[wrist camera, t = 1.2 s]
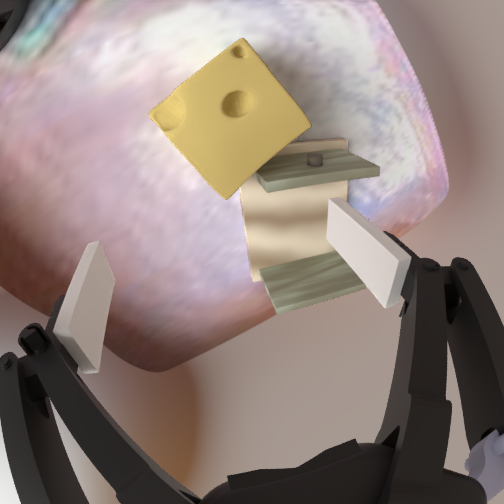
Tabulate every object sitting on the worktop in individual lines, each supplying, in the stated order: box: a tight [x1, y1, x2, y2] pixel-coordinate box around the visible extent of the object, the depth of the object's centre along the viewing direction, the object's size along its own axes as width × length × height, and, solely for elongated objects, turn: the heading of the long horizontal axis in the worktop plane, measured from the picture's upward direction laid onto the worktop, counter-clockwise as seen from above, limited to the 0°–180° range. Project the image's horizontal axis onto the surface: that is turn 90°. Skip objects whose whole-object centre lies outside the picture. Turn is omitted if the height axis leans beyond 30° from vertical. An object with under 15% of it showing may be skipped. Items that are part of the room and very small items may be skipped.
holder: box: [239, 138, 380, 315], centre depth 33 cm, size 18×14×10 cm
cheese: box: [149, 38, 312, 200], centre depth 24 cm, size 10×11×10 cm
